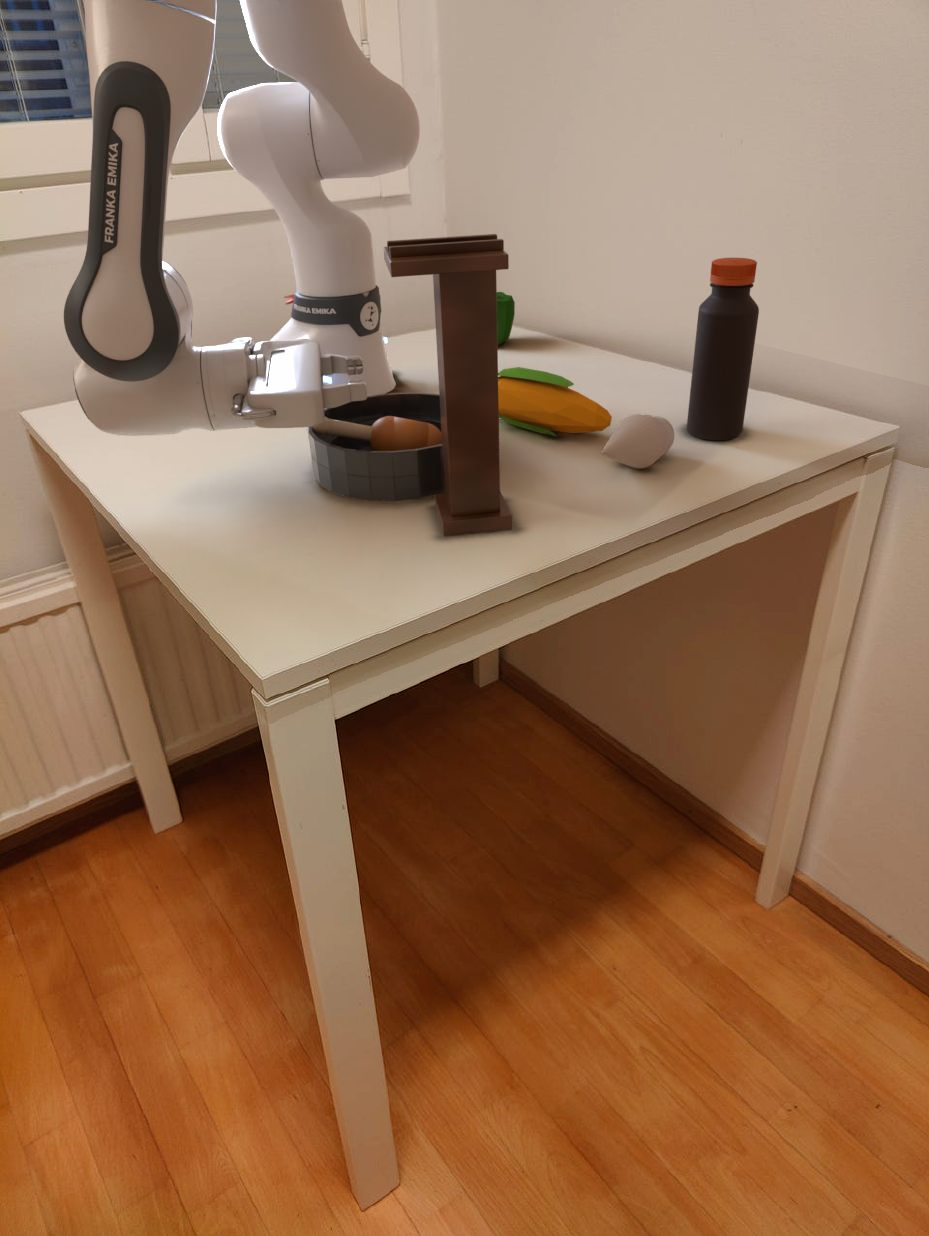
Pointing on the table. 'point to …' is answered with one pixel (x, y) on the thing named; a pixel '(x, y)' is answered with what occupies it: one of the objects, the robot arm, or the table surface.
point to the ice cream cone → (640, 440)
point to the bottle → (723, 352)
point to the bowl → (379, 452)
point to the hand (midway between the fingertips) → (364, 376)
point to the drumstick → (385, 433)
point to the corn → (547, 403)
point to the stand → (464, 372)
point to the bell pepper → (504, 316)
